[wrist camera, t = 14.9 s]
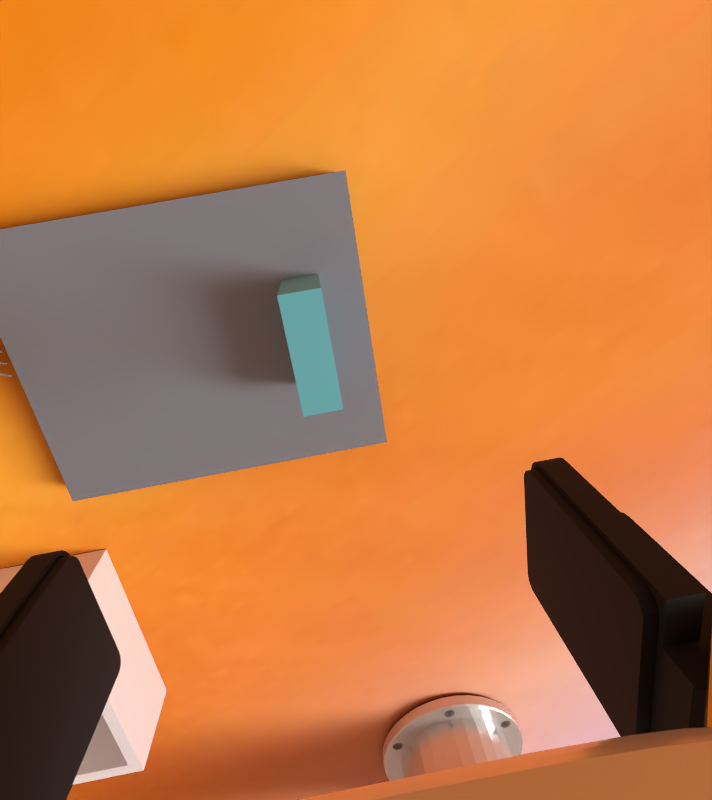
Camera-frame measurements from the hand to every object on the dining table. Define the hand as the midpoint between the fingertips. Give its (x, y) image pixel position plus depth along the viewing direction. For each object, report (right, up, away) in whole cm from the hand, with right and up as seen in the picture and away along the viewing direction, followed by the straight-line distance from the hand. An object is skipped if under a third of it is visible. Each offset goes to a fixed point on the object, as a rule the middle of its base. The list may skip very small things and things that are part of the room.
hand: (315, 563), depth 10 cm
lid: (-8, +7, +19) cm, 22 cm away
